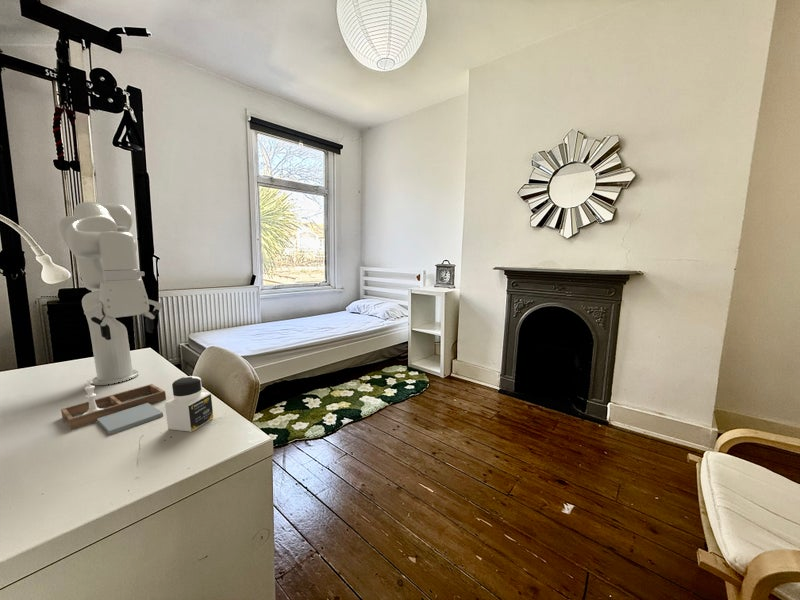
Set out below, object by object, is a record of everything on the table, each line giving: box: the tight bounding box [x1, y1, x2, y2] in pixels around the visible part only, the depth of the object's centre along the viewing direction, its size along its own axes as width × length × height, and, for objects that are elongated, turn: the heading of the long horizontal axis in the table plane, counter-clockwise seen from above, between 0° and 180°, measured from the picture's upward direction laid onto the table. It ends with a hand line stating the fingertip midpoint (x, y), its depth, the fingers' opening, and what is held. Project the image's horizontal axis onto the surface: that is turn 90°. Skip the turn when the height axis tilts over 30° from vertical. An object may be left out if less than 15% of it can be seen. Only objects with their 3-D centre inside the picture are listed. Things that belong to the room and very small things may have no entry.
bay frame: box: [60, 383, 167, 430], centre depth 92 cm, size 11×20×2 cm, turn 145°
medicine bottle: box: [164, 375, 214, 433], centre depth 82 cm, size 7×7×12 cm
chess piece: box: [82, 379, 102, 415], centre depth 88 cm, size 5×5×10 cm
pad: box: [96, 403, 164, 436], centre depth 85 cm, size 11×11×1 cm
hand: (129, 335), depth 93 cm, fingers open, 9 cm apart
